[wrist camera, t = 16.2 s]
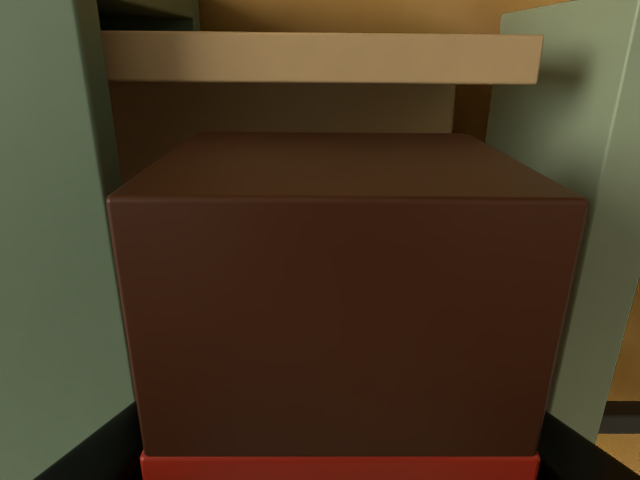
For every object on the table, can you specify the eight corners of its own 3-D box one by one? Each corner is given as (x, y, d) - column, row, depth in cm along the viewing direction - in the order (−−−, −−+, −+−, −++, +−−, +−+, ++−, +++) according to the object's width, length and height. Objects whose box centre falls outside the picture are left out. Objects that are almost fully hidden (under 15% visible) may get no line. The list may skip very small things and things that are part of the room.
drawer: (722, 15, 14) (1027, -10, 8) (614, 408, 19) (753, 575, 13) (14, 9, 13) (-218, -23, 8) (92, 408, 18) (-14, 577, 12)
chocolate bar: (472, 132, 8) (601, 200, 5) (426, 519, 12) (481, 747, 8) (194, 130, 8) (94, 197, 5) (226, 519, 12) (183, 749, 8)
